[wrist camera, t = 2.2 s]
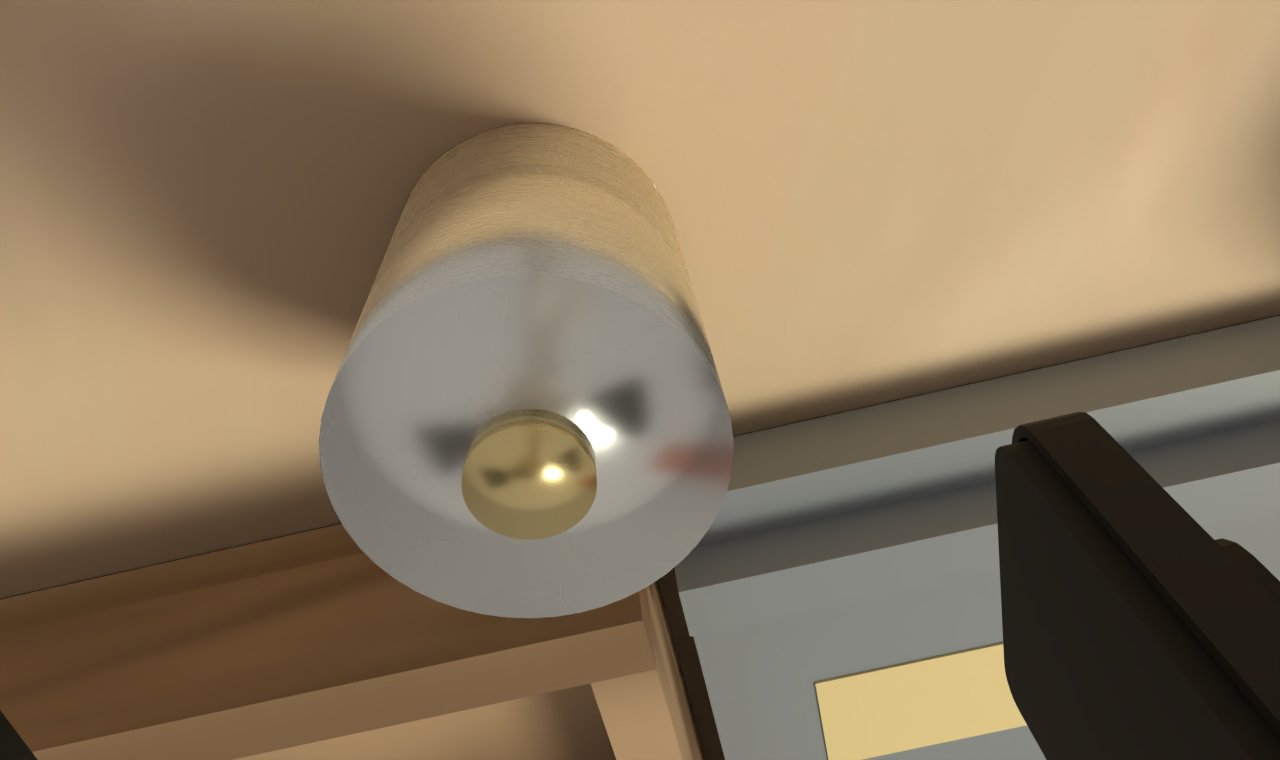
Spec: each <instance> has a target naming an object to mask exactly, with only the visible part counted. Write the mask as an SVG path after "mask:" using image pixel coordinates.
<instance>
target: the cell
mask: <svg viewBox="0 0 1280 760" xmlns="http://www.w3.org/2000/svg"><path fill="white" fill-rule="evenodd" d="M733 448H734V440H733V432H732V423H731V418H730V414H729V411H728V407H727V404H726V400H725V397H724V393H723V390H722V387H721V383H720V380H719V377H718V373H717V370H716V367H715V363H714V360H713V356H712V353H711V350H710V346H709V343H708V340H707V336H706V333H705V330H704V326H703V323H702V320H701V316H700V313H699V310H698V306H697V303H696V300H695V296H694V293H693V290H692V286H691V283H690V280H689V276H688V273H687V270H686V266H685V263H684V260H683V256H682V253H681V250H680V246H679V243H678V240H677V236H676V233H675V230H674V226H673V223H672V220H671V216H670V214H669V211H668V209H667V207H666V204H665V202H664V200H663V198H662V196H661V195H660V193H659V191H658V190H657V188H656V187H655V185H654V183H653V182H652V181H651V180H650V178H649V177H648V176H647V175H646V174H645V172H644V171H643V170H642V169H641V168H640V167H639V166H638V165H637V164H636V163H635V162H634V161H633V160H632V159H630V158H629V157H628V156H627V155H626V154H624V153H623V152H621V151H620V150H618V149H617V148H616V147H614V146H613V145H611V144H609V143H607V142H605V141H603V140H602V139H600V138H598V137H596V136H593V135H591V134H588V133H585V132H582V131H580V130H577V129H573V128H568V127H564V126H560V125H551V124H541V123H532V124H515V125H509V126H503V127H498V128H495V129H492V130H489V131H485V132H482V133H479V134H477V135H475V136H473V137H471V138H469V139H466V140H464V141H462V142H461V143H459V144H458V145H456V146H455V147H453V148H452V149H450V150H448V151H447V152H446V153H445V154H443V155H442V156H441V157H440V158H439V159H438V160H436V161H435V162H434V163H433V164H432V165H431V166H430V167H429V169H428V170H427V171H426V172H425V173H424V174H423V176H422V177H421V178H420V179H419V181H418V183H417V184H416V186H415V187H414V189H413V190H412V192H411V194H410V196H409V198H408V200H407V202H406V205H405V207H404V209H403V211H402V214H401V216H400V219H399V221H398V224H397V226H396V229H395V231H394V234H393V236H392V239H391V241H390V244H389V246H388V249H387V251H386V254H385V256H384V258H383V261H382V263H381V266H380V268H379V271H378V273H377V276H376V278H375V281H374V283H373V286H372V288H371V291H370V293H369V296H368V298H367V301H366V303H365V306H364V308H363V310H362V313H361V315H360V318H359V320H358V323H357V325H356V328H355V330H354V333H353V335H352V338H351V340H350V343H349V345H348V348H347V350H346V353H345V355H344V357H343V360H342V362H341V365H340V367H339V370H338V372H337V375H336V377H335V380H334V382H333V385H332V387H331V390H330V392H329V395H328V398H327V401H326V405H325V408H324V412H323V415H322V419H321V428H320V438H319V451H320V466H321V471H322V475H323V480H324V484H325V488H326V491H327V493H328V496H329V499H330V501H331V504H332V506H333V509H334V511H335V512H336V514H337V516H338V518H339V520H340V521H341V523H342V525H343V527H344V528H345V530H346V531H347V532H348V534H349V535H350V536H351V538H352V539H353V540H354V541H355V543H356V544H357V545H358V547H359V548H360V549H361V550H362V551H363V552H364V553H365V554H366V555H367V556H368V557H369V558H370V559H371V560H372V561H373V562H374V563H375V564H376V565H378V566H379V567H380V568H382V569H383V570H384V571H385V572H387V573H388V574H389V575H390V576H392V577H393V578H394V579H396V580H398V581H399V582H401V583H403V584H404V585H406V586H408V587H409V588H411V589H412V590H414V591H416V592H418V593H421V594H423V595H425V596H427V597H429V598H431V599H433V600H435V601H438V602H441V603H444V604H447V605H450V606H453V607H455V608H458V609H462V610H467V611H471V612H475V613H479V614H484V615H492V616H500V617H507V618H544V617H557V616H563V615H569V614H575V613H581V612H585V611H588V610H592V609H596V608H599V607H603V606H606V605H608V604H611V603H614V602H616V601H619V600H621V599H624V598H626V597H628V596H630V595H632V594H634V593H636V592H638V591H640V590H642V589H644V588H646V587H647V586H649V585H651V584H652V583H654V582H655V581H657V580H658V579H660V578H661V577H663V576H664V575H666V574H667V573H668V572H669V571H670V570H672V569H673V568H674V567H675V566H676V565H678V564H679V563H680V562H681V561H682V560H683V559H684V558H685V557H686V556H687V555H688V554H689V553H690V552H691V551H692V550H693V549H694V548H695V547H696V545H697V544H698V543H699V542H700V540H701V539H702V538H703V536H704V535H705V533H706V532H707V531H708V529H709V528H710V527H711V525H712V523H713V521H714V519H715V517H716V515H717V514H718V512H719V510H720V508H721V506H722V503H723V500H724V497H725V495H726V492H727V489H728V486H729V481H730V476H731V471H732V466H733Z"/></svg>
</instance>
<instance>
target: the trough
mask: <svg viewBox="0 0 1280 760" xmlns="http://www.w3.org/2000/svg"><path fill="white" fill-rule="evenodd" d="M0 710H1V712H2V713H3V714H4V716H5V717H6V718H7V720H8V721H9V722H10V724H11V725H12V726H13V728H14V729H15V730H16V732H17V733H18V734H19V736H20V737H21V738H22V740H23V741H24V742H25V744H26V745H27V746H28V748H29V749H30V750H31V752H32V753H33V754H34V756H35V757H36V758H37V760H706V759H705V756H704V752H703V748H702V745H701V741H700V737H699V734H698V730H697V726H696V722H695V719H694V715H693V711H692V708H691V704H690V700H689V697H688V693H687V689H686V686H685V682H684V678H683V674H682V671H681V667H680V663H679V660H678V656H677V652H676V649H675V645H674V641H673V638H672V634H671V630H670V627H669V623H668V619H667V615H666V612H665V608H664V604H663V601H662V597H661V593H660V590H659V586H658V582H657V581H655V582H654V583H652V584H651V585H649V586H647V587H646V588H644V589H642V590H640V591H638V592H636V593H634V594H632V595H630V596H628V597H626V598H624V599H621V600H619V601H616V602H614V603H611V604H608V605H606V606H603V607H599V608H596V609H592V610H588V611H585V612H581V613H575V614H569V615H563V616H557V617H544V618H507V617H500V616H492V615H484V614H479V613H475V612H471V611H467V610H462V609H458V608H455V607H453V606H450V605H447V604H444V603H441V602H438V601H435V600H433V599H431V598H429V597H427V596H425V595H423V594H421V593H418V592H416V591H414V590H412V589H411V588H409V587H408V586H406V585H404V584H403V583H401V582H399V581H398V580H396V579H394V578H393V577H392V576H390V575H389V574H388V573H387V572H385V571H384V570H383V569H382V568H380V567H379V566H378V565H376V564H375V563H374V562H373V561H372V560H371V559H370V558H369V557H368V556H367V555H366V554H365V553H364V552H363V551H362V550H361V549H360V548H359V547H358V545H357V544H356V543H355V541H354V540H353V539H352V538H351V536H350V535H349V534H348V532H347V531H346V530H345V528H344V527H343V525H342V524H338V525H334V526H329V527H325V528H320V529H316V530H311V531H307V532H302V533H298V534H293V535H289V536H284V537H280V538H275V539H271V540H266V541H262V542H257V543H253V544H248V545H244V546H239V547H235V548H230V549H225V550H221V551H216V552H212V553H207V554H203V555H198V556H194V557H189V558H185V559H180V560H176V561H171V562H167V563H162V564H158V565H153V566H149V567H144V568H140V569H135V570H131V571H126V572H122V573H117V574H113V575H108V576H104V577H99V578H95V579H90V580H86V581H81V582H77V583H72V584H68V585H63V586H59V587H54V588H50V589H45V590H41V591H36V592H32V593H27V594H23V595H18V596H14V597H9V598H5V599H0Z"/></svg>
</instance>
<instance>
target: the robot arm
mask: <svg viewBox="0 0 1280 760" xmlns="http://www.w3.org/2000/svg"><path fill="white" fill-rule="evenodd" d="M995 481H996V502H997V523H998V544H999V565H1000V586H1001V607H1002V628H1003V649H1004V666H1005V673H1006V678H1007V682H1008V685H1009V688H1010V691H1011V694H1012V697H1013V699H1014V701H1015V703H1016V706H1017V708H1018V710H1019V711H1020V713H1021V715H1022V717H1023V719H1024V720H1025V722H1026V724H1027V726H1028V727H1029V729H1030V731H1031V733H1032V735H1033V736H1034V738H1035V740H1036V742H1037V744H1038V745H1039V747H1040V749H1041V751H1042V753H1043V754H1044V756H1045V758H1046V760H1280V581H1279V580H1278V579H1277V578H1276V577H1275V576H1274V575H1273V574H1272V573H1271V572H1270V571H1269V570H1268V569H1267V568H1266V567H1265V566H1264V565H1263V564H1262V563H1261V562H1260V561H1259V560H1258V559H1256V558H1255V557H1254V556H1253V555H1252V554H1251V553H1250V552H1248V551H1247V550H1246V549H1244V548H1243V547H1242V546H1240V545H1239V544H1238V543H1236V542H1233V541H1230V540H1227V539H1223V538H1222V539H1217V540H1214V539H1213V538H1212V537H1211V536H1210V535H1209V534H1208V533H1207V532H1206V531H1205V530H1204V529H1203V528H1202V527H1201V526H1200V525H1199V524H1198V523H1197V522H1196V521H1195V520H1194V519H1193V518H1192V517H1191V516H1190V515H1189V514H1188V513H1187V512H1186V511H1185V510H1184V509H1183V508H1182V507H1181V506H1180V505H1179V504H1178V503H1177V502H1176V501H1175V500H1174V499H1173V498H1172V497H1171V496H1170V495H1169V494H1168V493H1167V492H1166V491H1165V490H1164V489H1163V488H1162V487H1161V486H1160V485H1159V484H1158V483H1157V482H1156V481H1155V479H1154V478H1153V477H1152V476H1151V475H1150V474H1149V473H1148V472H1147V471H1146V470H1145V469H1144V468H1143V467H1142V466H1141V465H1140V464H1139V463H1138V462H1137V461H1136V460H1135V459H1134V458H1133V457H1132V456H1131V455H1130V454H1129V453H1128V452H1127V451H1126V450H1125V449H1124V448H1123V447H1122V446H1121V445H1120V444H1119V443H1118V442H1117V441H1116V440H1115V439H1114V438H1113V437H1112V436H1111V435H1110V434H1109V433H1108V432H1107V431H1106V430H1105V429H1104V428H1103V427H1102V426H1101V425H1100V424H1099V423H1098V422H1097V421H1096V420H1095V419H1094V418H1093V417H1091V416H1090V415H1089V414H1087V413H1086V412H1075V413H1071V414H1066V415H1062V416H1057V417H1053V418H1049V419H1044V420H1040V421H1035V422H1031V423H1027V424H1022V425H1019V426H1017V427H1016V428H1015V429H1014V433H1013V436H1012V444H1009V445H1005V446H1000V447H999V448H997V450H996V453H995ZM0 760H37V758H36V757H35V756H34V754H33V753H32V752H31V750H30V749H29V748H28V746H27V745H26V744H25V742H24V741H23V740H22V738H21V737H20V736H19V734H18V733H17V732H16V730H15V729H14V728H13V726H12V725H11V724H10V722H9V721H8V720H7V718H6V717H5V716H4V714H3V713H2V712H1V710H0Z"/></svg>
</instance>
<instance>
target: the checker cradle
mask: <svg viewBox="0 0 1280 760" xmlns="http://www.w3.org/2000/svg"><path fill="white" fill-rule="evenodd" d="M1075 412H1086V413H1087V414H1089V415H1090V416H1091V417H1093V418H1094V419H1095V420H1096V421H1097V422H1098V423H1099V424H1100V425H1101V426H1102V427H1103V428H1104V429H1105V430H1106V431H1107V432H1108V433H1109V434H1110V435H1111V436H1112V437H1113V438H1114V439H1115V440H1116V441H1117V442H1118V443H1119V444H1120V445H1121V446H1122V447H1123V448H1124V449H1125V450H1126V451H1127V452H1128V453H1129V454H1130V455H1131V456H1132V457H1133V458H1134V459H1135V460H1136V461H1137V462H1138V463H1139V464H1140V465H1141V466H1142V467H1143V468H1144V469H1145V470H1146V471H1147V472H1148V473H1149V474H1150V475H1151V476H1152V477H1153V478H1154V479H1155V481H1156V482H1157V483H1158V484H1159V485H1160V486H1161V487H1162V488H1163V489H1164V490H1165V491H1166V492H1167V493H1168V494H1169V495H1170V496H1171V497H1172V498H1173V499H1174V500H1175V501H1176V502H1177V503H1178V504H1179V505H1180V506H1181V507H1182V508H1183V509H1184V510H1185V511H1186V512H1187V513H1188V514H1189V515H1190V516H1191V517H1192V518H1193V519H1194V520H1195V521H1196V522H1197V523H1198V524H1199V525H1200V526H1201V527H1202V528H1203V529H1204V530H1205V531H1206V532H1207V533H1208V534H1209V535H1210V536H1211V537H1212V538H1213V539H1214V540H1217V539H1222V538H1223V539H1227V540H1230V541H1233V542H1236V543H1238V544H1239V545H1240V546H1242V547H1243V548H1244V549H1246V550H1247V551H1248V552H1250V553H1251V554H1252V555H1253V556H1254V557H1255V558H1256V559H1258V560H1259V561H1260V562H1261V563H1262V564H1263V565H1264V566H1265V567H1266V568H1267V569H1268V570H1269V571H1270V572H1271V573H1272V574H1273V575H1274V576H1275V577H1276V578H1277V579H1278V580H1279V581H1280V316H1276V317H1271V318H1267V319H1262V320H1258V321H1253V322H1249V323H1244V324H1240V325H1235V326H1231V327H1226V328H1222V329H1217V330H1212V331H1208V332H1203V333H1199V334H1194V335H1190V336H1185V337H1181V338H1176V339H1172V340H1167V341H1163V342H1158V343H1154V344H1149V345H1145V346H1140V347H1136V348H1131V349H1127V350H1122V351H1118V352H1113V353H1109V354H1104V355H1100V356H1095V357H1091V358H1086V359H1082V360H1077V361H1073V362H1068V363H1064V364H1059V365H1055V366H1050V367H1046V368H1041V369H1037V370H1032V371H1028V372H1023V373H1019V374H1014V375H1010V376H1005V377H1001V378H996V379H992V380H987V381H983V382H978V383H974V384H969V385H965V386H960V387H956V388H951V389H947V390H942V391H938V392H933V393H929V394H924V395H920V396H915V397H911V398H906V399H902V400H897V401H893V402H888V403H883V404H879V405H874V406H870V407H865V408H861V409H856V410H852V411H847V412H843V413H838V414H834V415H829V416H825V417H820V418H816V419H811V420H807V421H802V422H798V423H793V424H789V425H784V426H780V427H775V428H771V429H766V430H762V431H757V432H753V433H748V434H744V435H739V436H735V437H733V440H734V448H733V466H732V471H731V476H730V481H729V486H728V489H727V492H726V495H725V497H724V500H723V503H722V506H721V508H720V510H719V512H718V514H717V515H716V517H715V519H714V521H713V523H712V525H711V527H710V528H709V529H708V531H707V532H706V533H705V535H704V536H703V538H702V539H701V540H700V542H699V543H698V544H697V545H696V547H695V548H694V549H693V550H692V551H691V552H690V553H689V554H688V555H687V556H686V557H685V558H684V559H683V560H682V561H681V562H680V563H679V564H678V565H676V566H675V567H674V568H675V574H676V580H677V587H678V593H679V596H680V600H681V604H682V608H683V612H684V616H685V620H686V624H687V627H688V631H689V635H690V637H691V636H693V637H694V641H695V644H696V648H697V652H698V656H699V660H700V664H701V668H702V672H703V676H704V680H705V684H706V688H707V691H708V695H709V699H710V703H711V707H712V711H713V715H714V719H715V723H716V727H717V731H718V734H719V738H720V742H721V746H722V750H723V754H724V758H725V760H1046V758H1045V756H1044V754H1043V753H1042V751H1041V749H1040V747H1039V745H1038V744H1037V742H1036V740H1035V738H1034V736H1033V735H1032V733H1031V731H1030V729H1029V727H1028V726H1027V724H1026V722H1025V720H1024V719H1023V717H1022V715H1021V713H1020V711H1019V710H1018V708H1017V706H1016V703H1015V701H1014V699H1013V697H1012V694H1011V691H1010V688H1009V685H1008V682H1007V678H1006V673H1005V666H1004V649H1003V628H1002V607H1001V586H1000V565H999V544H998V523H997V502H996V481H995V453H996V450H997V448H999V447H1000V446H1005V445H1009V444H1012V436H1013V433H1014V429H1015V428H1016V427H1017V426H1019V425H1022V424H1027V423H1031V422H1035V421H1040V420H1044V419H1049V418H1053V417H1057V416H1062V415H1066V414H1071V413H1075Z"/></svg>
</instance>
